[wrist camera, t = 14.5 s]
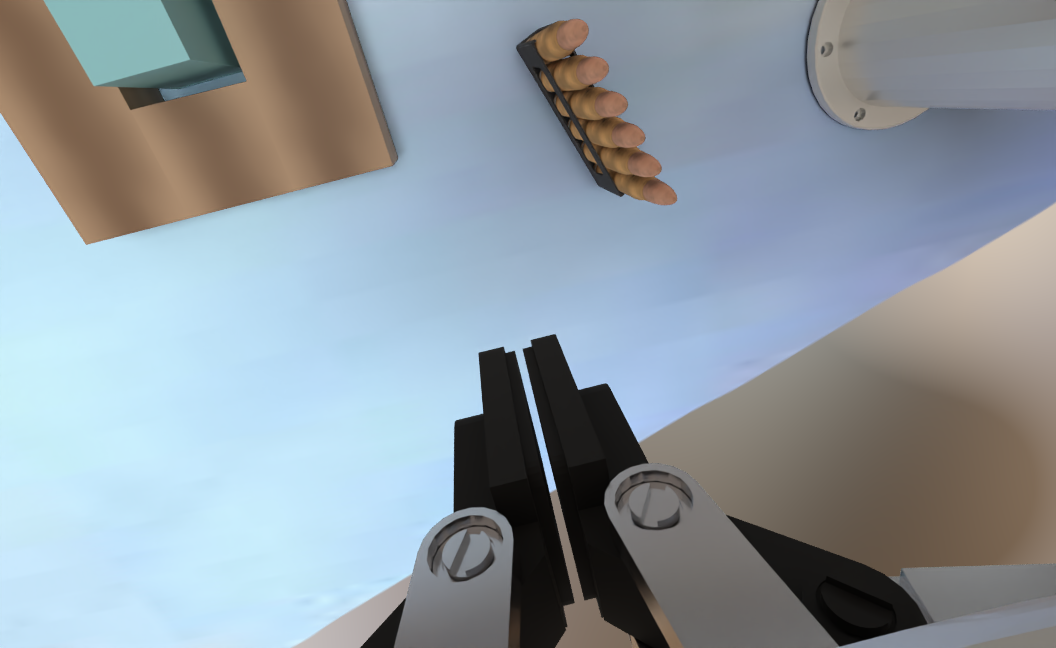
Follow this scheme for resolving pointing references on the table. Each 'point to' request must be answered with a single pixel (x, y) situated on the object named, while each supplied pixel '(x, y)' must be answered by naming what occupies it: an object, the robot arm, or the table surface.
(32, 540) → the table surface
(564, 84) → the ammunition clip
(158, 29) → the peg
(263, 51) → the socket block
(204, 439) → the table surface
